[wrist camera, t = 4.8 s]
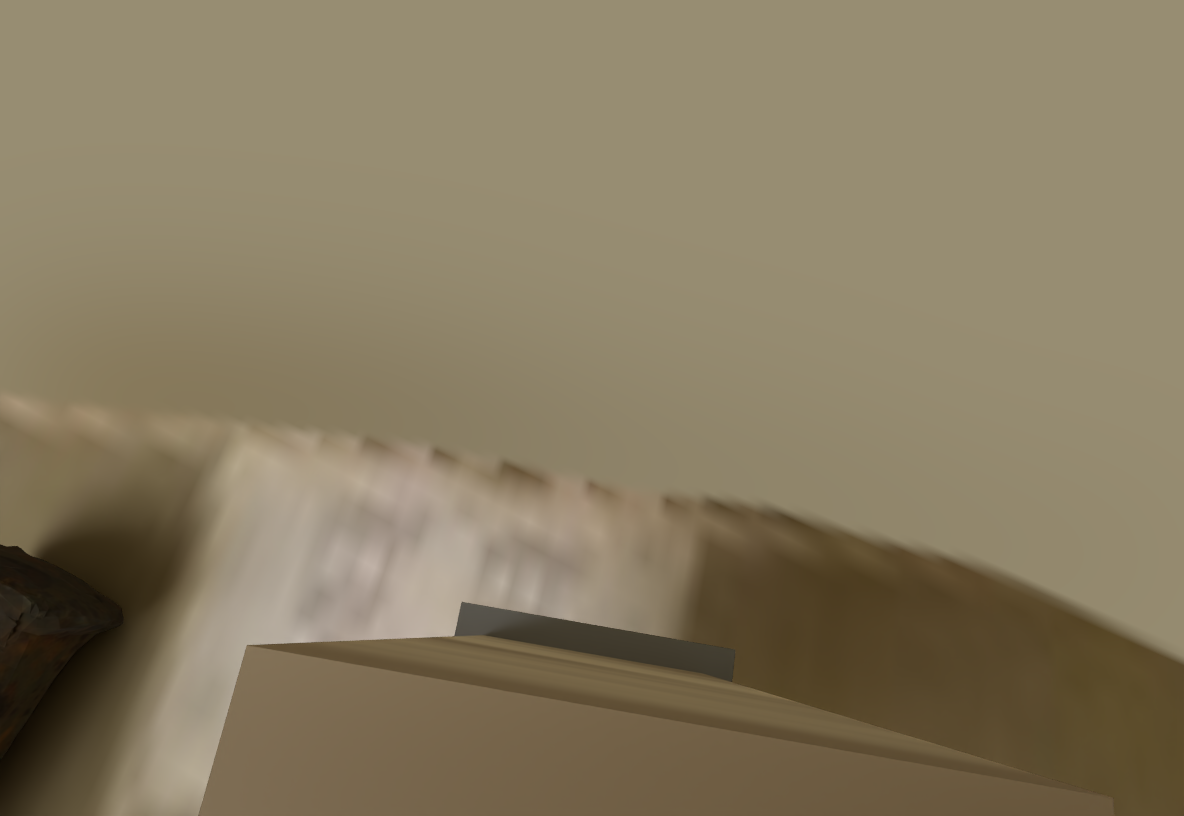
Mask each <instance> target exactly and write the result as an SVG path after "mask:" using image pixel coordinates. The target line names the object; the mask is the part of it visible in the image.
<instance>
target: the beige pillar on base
mask: <svg viewBox="0 0 1184 816" xmlns="http://www.w3.org/2000/svg"><path fill="white" fill-rule="evenodd" d="M734 659H735V650H734V649H729V648H723V647H717V646H711V645H706V644H700V643H694V642H689V641H683V640H677V639H671V638H666V637H660V636H654V635H648V634H643V633H637V632H631V631H625V630H620V629H614V628H608V627H603V626H597V625H591V624H585V623H580V622H574V621H568V620H562V619H557V618H551V617H545V616H540V615H534V614H528V613H522V612H517V611H511V610H505V609H499V608H494V607H488V606H482V605H477V604H471V603H465V602H462V603H461V608H460V612H459V617H458V622H457V627H456V631H455V636H453V637H430V638H406V639H383V640H359V641H336V642H313V643H289V644H266V645H247V647H246V650H245V654H244V657H243V661H242V664H241V668H240V671H239V675H238V678H237V682H236V685H235V689H234V692H233V696H232V699H231V703H230V706H229V710H228V713H227V717H226V720H225V724H224V727H223V731H222V735H221V738H220V742H219V745H218V749H217V752H216V756H215V759H214V763H213V766H212V770H211V773H210V777H209V780H208V784H207V787H206V791H205V794H204V798H203V801H202V805H201V808H200V812H199V815H198V816H1114V798H1112V797H1109V796H1105V795H1102V794H1099V793H1096V792H1092V791H1089V790H1086V789H1082V788H1079V787H1076V786H1072V785H1069V784H1066V783H1063V782H1059V781H1056V780H1053V779H1049V778H1046V777H1043V776H1039V775H1036V774H1033V773H1030V772H1026V771H1023V770H1020V769H1016V768H1013V767H1010V766H1007V765H1003V764H1000V763H997V762H993V761H990V760H987V759H983V758H980V757H977V756H974V755H970V754H967V753H964V752H960V751H957V750H954V749H950V748H947V747H944V746H941V745H937V744H934V743H931V742H927V741H924V740H921V739H917V738H914V737H911V736H908V735H904V734H901V733H898V732H894V731H891V730H888V729H884V728H881V727H878V726H875V725H871V724H868V723H865V722H861V721H858V720H855V719H851V718H848V717H845V716H842V715H838V714H835V713H832V712H828V711H825V710H822V709H819V708H815V707H812V706H809V705H805V704H802V703H799V702H795V701H792V700H789V699H786V698H782V697H779V696H776V695H772V694H769V693H766V692H762V691H759V690H756V689H753V688H749V687H746V686H743V685H739V684H736V683H733V682H732V678H733V668H734Z"/></svg>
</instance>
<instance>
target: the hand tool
mask: <svg viewBox="0 0 1184 816" xmlns="http://www.w3.org/2000/svg"><path fill="white" fill-rule="evenodd" d="M121 624H123V615H122V609H121V608H120V607H119V605H117V604H116V603H115V602H114V601H112V600H111V599H109V598H107V597H105V596H104V595H102V594H100V593H99V592H97V591H96V590H94V589H93V588H92V587H90V586H89V585H88V584H87V583H85V582H84V581H83V580H81V579H79V578H77V577H76V576H74V575H72V574H70V573H68V572H67V571H65V570H63V569H61V568H58V567H56V566H54V565H52V564H50V563H48V562H46V561H44V560H41V559H38V558H35V557H32V556H30V555H29V554H27V553H25V552H24V551H23V550H22V549H21V548H19V547H18V546H9V547H6V546H3V545H0V760H1V758H2V757H3V756H4V754H5V753H6V751H7V750H8V749H9V747H10V746H11V744H12V742H13V740H14V739H15V737H16V735H17V734H18V733H19V731H20V730H21V729H22V727H23V726H24V724H25V723H26V721H27V720H28V718H29V717H30V715H31V714H32V712H33V711H34V709H35V708H36V706H37V705H38V703H39V702H40V700H41V699H42V697H43V695H44V694H45V692H46V691H47V689H48V688H49V686H50V685H51V683H52V682H53V680H54V679H55V677H56V676H57V675H58V673H59V672H60V671H61V670H62V668H63V667H64V666H65V665H66V663H67V662H68V661H69V659H70V658H71V657H72V656H73V654H74V653H75V652H76V651H77V650H78V649H79V648H80V647H81V646H83V645H84V644H85V643H86V642H87V641H88V640H90V639H91V638H92V637H94V636H95V635H96V634H98V633H100V632H103V631H106V630H109V629H112V628H114V627H117V626H120V625H121Z"/></svg>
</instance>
